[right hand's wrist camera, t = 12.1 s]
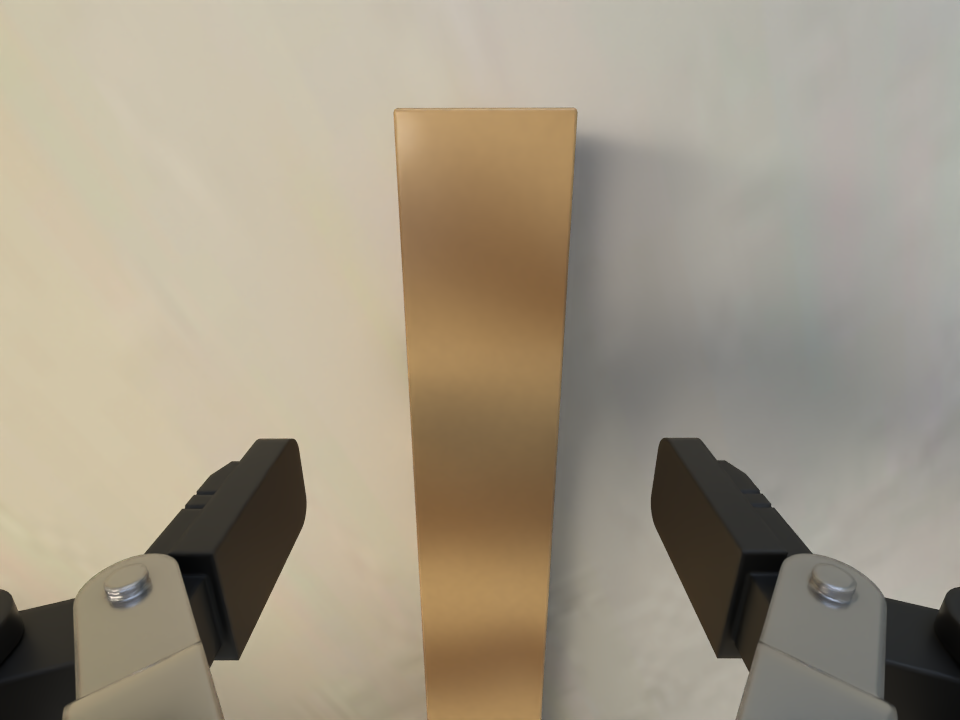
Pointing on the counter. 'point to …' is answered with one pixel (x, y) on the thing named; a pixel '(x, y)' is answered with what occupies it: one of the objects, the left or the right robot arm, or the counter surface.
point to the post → (484, 389)
